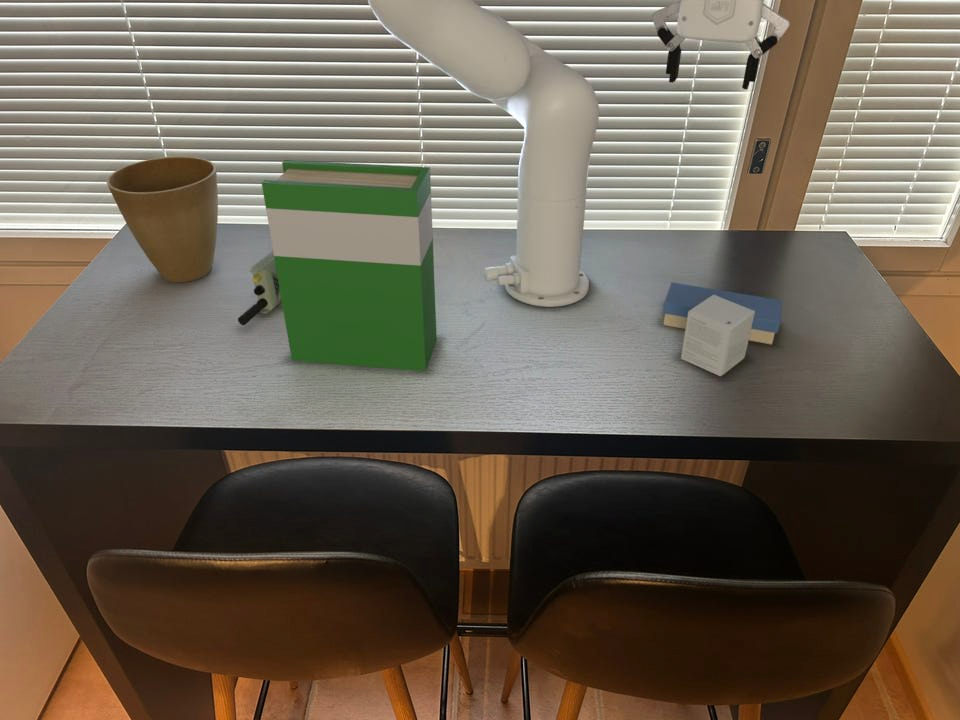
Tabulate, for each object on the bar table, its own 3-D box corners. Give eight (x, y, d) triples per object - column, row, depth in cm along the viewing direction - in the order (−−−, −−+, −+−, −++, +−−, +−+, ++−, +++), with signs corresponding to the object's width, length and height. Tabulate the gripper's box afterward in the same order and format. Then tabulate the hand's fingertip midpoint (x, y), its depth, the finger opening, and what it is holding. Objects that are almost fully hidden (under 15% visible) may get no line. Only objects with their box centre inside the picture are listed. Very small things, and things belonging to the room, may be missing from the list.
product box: (745, 359, 98) (757, 310, 94) (720, 378, 95) (731, 328, 91) (704, 340, 102) (713, 293, 98) (678, 358, 98) (687, 310, 94)
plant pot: (248, 251, 124) (230, 156, 115) (214, 297, 112) (191, 194, 102) (160, 248, 125) (135, 153, 116) (117, 292, 113) (85, 190, 103)
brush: (660, 325, 105) (664, 302, 103) (667, 305, 110) (671, 281, 108) (774, 346, 101) (780, 321, 99) (776, 323, 105) (782, 300, 103)
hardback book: (291, 360, 98) (261, 183, 84) (310, 330, 104) (284, 160, 90) (425, 371, 96) (416, 191, 82) (436, 339, 102) (430, 167, 88)
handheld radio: (339, 253, 123) (254, 331, 104) (321, 251, 124) (233, 328, 105) (333, 215, 119) (244, 288, 100) (315, 213, 120) (222, 285, 101)
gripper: (656, -60, 93) (640, 84, 103) (805, -54, 88) (773, 97, 98) (666, -66, 99) (650, 71, 108) (807, -61, 94) (777, 82, 103)
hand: (708, 83), depth 103 cm, fingers open, 9 cm apart
